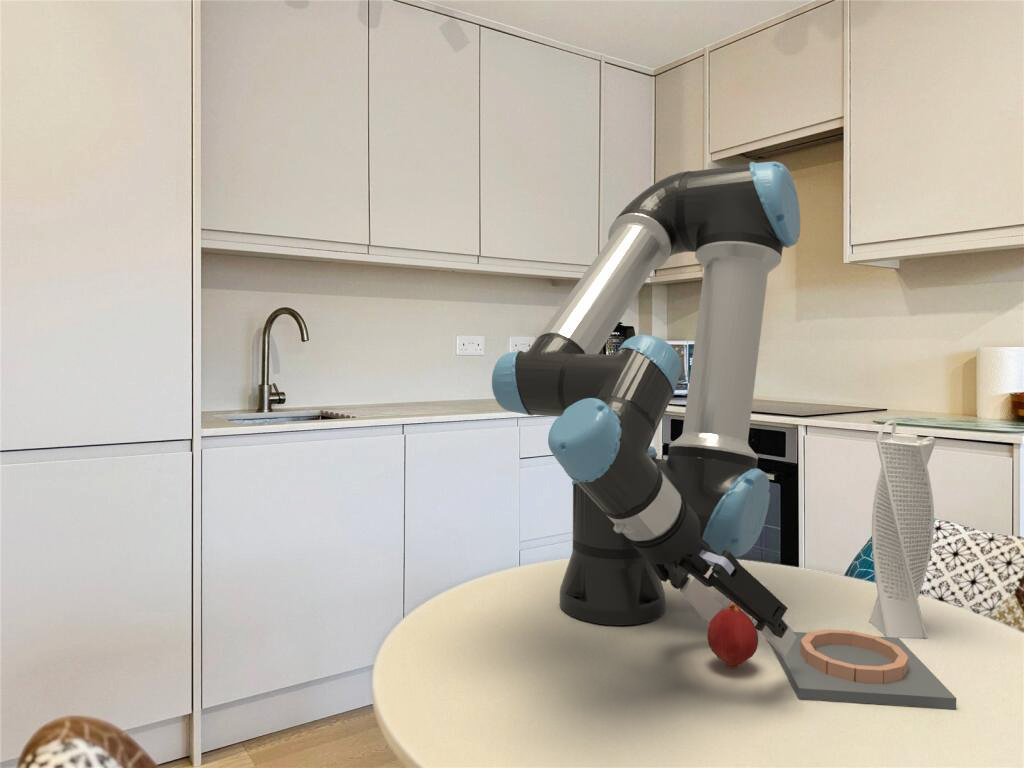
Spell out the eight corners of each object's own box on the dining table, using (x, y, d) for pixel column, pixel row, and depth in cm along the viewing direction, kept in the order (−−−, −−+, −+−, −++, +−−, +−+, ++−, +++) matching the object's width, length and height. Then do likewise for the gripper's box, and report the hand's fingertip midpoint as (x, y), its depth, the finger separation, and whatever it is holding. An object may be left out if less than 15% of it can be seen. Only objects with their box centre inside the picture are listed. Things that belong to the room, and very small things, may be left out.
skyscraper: (856, 617, 105) (864, 418, 103) (910, 618, 105) (919, 419, 103) (881, 640, 97) (891, 426, 95) (940, 642, 97) (950, 426, 95)
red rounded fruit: (699, 657, 92) (701, 593, 91) (745, 656, 92) (747, 592, 92) (716, 679, 86) (718, 611, 85) (765, 677, 86) (767, 609, 86)
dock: (798, 698, 81) (799, 674, 81) (767, 639, 97) (768, 619, 97) (955, 709, 79) (957, 684, 79) (898, 646, 95) (898, 626, 95)
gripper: (570, 520, 90) (665, 621, 99) (714, 574, 70) (817, 695, 79) (606, 472, 92) (696, 576, 101) (755, 511, 72) (850, 636, 81)
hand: (749, 628), depth 90 cm, fingers open, 11 cm apart
